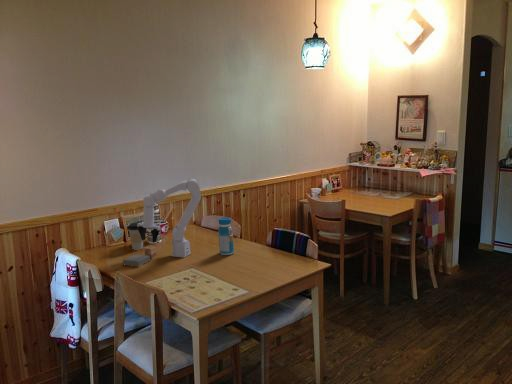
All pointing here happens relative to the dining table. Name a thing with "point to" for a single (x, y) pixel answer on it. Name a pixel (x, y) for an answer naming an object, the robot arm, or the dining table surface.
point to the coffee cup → (135, 237)
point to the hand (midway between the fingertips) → (148, 240)
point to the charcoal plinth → (136, 260)
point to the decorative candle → (156, 222)
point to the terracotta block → (150, 251)
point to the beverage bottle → (225, 236)
